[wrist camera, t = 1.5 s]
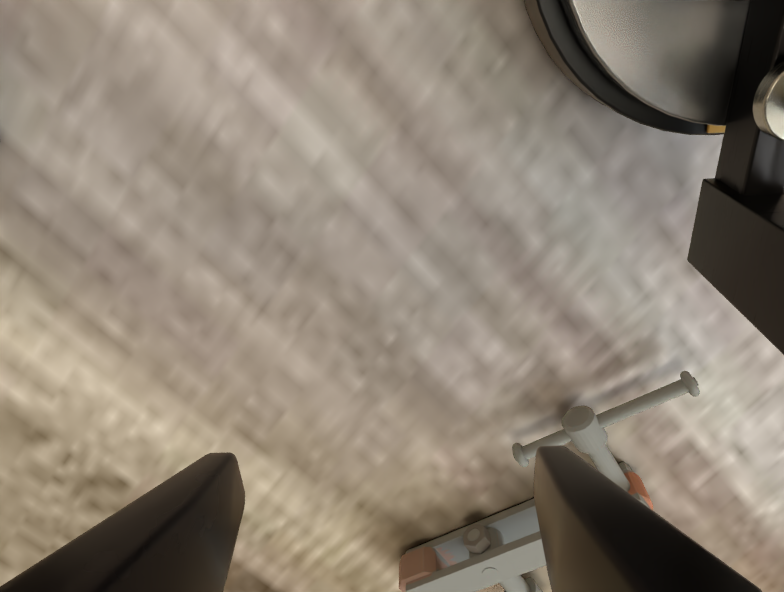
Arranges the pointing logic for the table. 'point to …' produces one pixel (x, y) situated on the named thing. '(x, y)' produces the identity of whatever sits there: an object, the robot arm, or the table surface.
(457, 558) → the clamp
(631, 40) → the swivel clamp
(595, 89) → the swivel base
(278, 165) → the table surface
